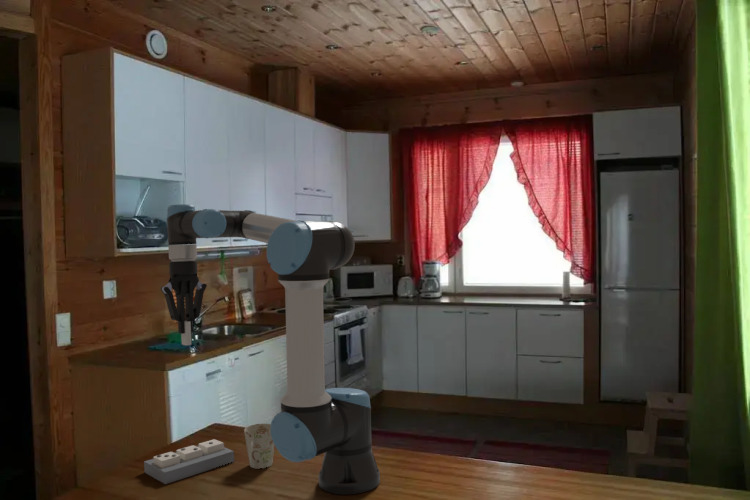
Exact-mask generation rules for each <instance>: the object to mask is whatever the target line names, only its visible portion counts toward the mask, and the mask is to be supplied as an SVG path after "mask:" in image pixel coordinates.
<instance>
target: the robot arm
mask: <svg viewBox="0 0 750 500" xmlns="http://www.w3.org/2000/svg"><path fill="white" fill-rule="evenodd" d="M166 212H167V213H166V224H167V225H166V227H167V242H168V243H167V244H168V245H167V246H168V259H169V260H170V261H169V263H168V266H169V267H168V272H169V278H168V283H167V284H166V285H165V286H161V287H160V291H161V292H162V294H163V296H164V298H165V302H166V305H167V309H168V312H169V313H168V314H169V316H170V319H171V321H176V322H177V325H178V326H177V327H178V334H180V336H181V337H180V339H181V345H182V346H191V345H192V333H194V322H195V320H196V319H199V318H200V315H201V312H202V304H203V298H204V293H205V291H206V289H207V287H208V285H207V283H203V282H201V281H200V279H199V277H198V272H199V271H198V261H197V260H196V259H197V258H198V250H197V249H198V246H197V239H217V238H218V239H219V238H221V239H222V238H241V239H247V240H252V241H256V242H259V243H264V244H266V245H267V246H266V259H267V263H268V264H269V265H270V268H271V270H273V272H275V273H276V274H277V279H278V280H277V282H279V283H280V285H282V286H283V287H284V291H285V292H284V293H285V294H284V295H285V299H284V300H285V336H286V337H285V338H286V339H285V341H286V346H285V347H286V381H287V382H286V383H287V384H286V393H285V394H284V395H283V396H282V397H281V398H280V412H278V413H276V415H275V416H274V417H273V418H272V420H271V422H270V424H271V428H270V429H271V436H272V440H273V443H274V448H275V449H276V450H278V452H279V454H280V455H281V456H282V457H283V458H284V459H286V460H287V461H289V462H292V463H301V462H304V461H311V460H312V459H314V458H316V457H318V456H320V455H323V459H322V464H321V468H320V471H319V472H318V487H319V488H320V489H321V490H323V491H325V492H327V493H330V494H335V495H357V494H361V493H362V494H363V493H366V492H369V491H372V490H373V489H375V488H377V487H378V486H379V485H380V484H381V483H380V482H381V478H380V477H381V476H380V475H381V474H380V469H379V468H378V465H377V461H376V459H375V456H374V452H373V445H372V414H371V413H372V410H371V409H372V406H371V401H370V398H371V397H370V395H369V394H368V392H367V391H365V390H363V389H359V388H351V387H331V388H325V387H326V385H325V384H326V382H325V378H326V377H325V374H326V373H325V328H324V327H325V326H324V325H325V324H324V322H325V321H324V320H325V319H324V287H325V285H326V284H327V283H328V282H329V281H330V270H331V271H332V270H336V269H340V268H342V267H344V265H346V264H347V263H348V262H349V261H350V260H351V258H352V256H353V255H354V252H355V238H354V235H353V234H352V231H351V230H350V229H349V228H348V227H347V226H346V225H345V224H343V223H341V222H338V221H333V220H295V219H289V218H284V217H279V216H273V215H267V214H262V213H259V212H258V211H256V210H249V209H247V210H246V209H245V210H228V209H227V210H221V209H220V210H219V209H213V208H210V209H209V208H208V209H207V208H205V209H203V208H202V209H201V210H196V208H195V206H194V205H193V204H170V205H169V206H168V207H167V211H166ZM195 289H196V290H195ZM172 291H174V293H175V294H173V292H172ZM174 296H175V297H174ZM175 298H176V299H175Z"/></svg>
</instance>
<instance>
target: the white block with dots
mask: <svg viewBox="0 0 750 500" xmlns="http://www.w3.org/2000/svg"><path fill="white" fill-rule="evenodd" d="M152 459H153V461H154V465H155V466H157V467H159V468H161V469H163V468H166V467H169V466H172V465H176V464H179V463H180V455H177V454H175V452H173V451H168V452H165V453H160V454H158V455H155V456H153V458H152Z"/></svg>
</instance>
